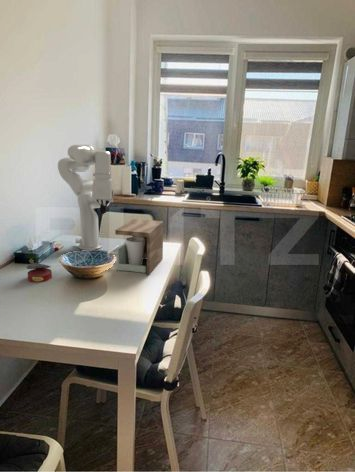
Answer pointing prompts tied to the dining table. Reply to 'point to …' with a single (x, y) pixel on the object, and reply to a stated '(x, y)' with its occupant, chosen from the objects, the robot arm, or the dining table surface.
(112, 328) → the dining table surface
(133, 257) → the foam cup
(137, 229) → the counter shelf
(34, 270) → the canned food
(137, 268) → the pull out rack
